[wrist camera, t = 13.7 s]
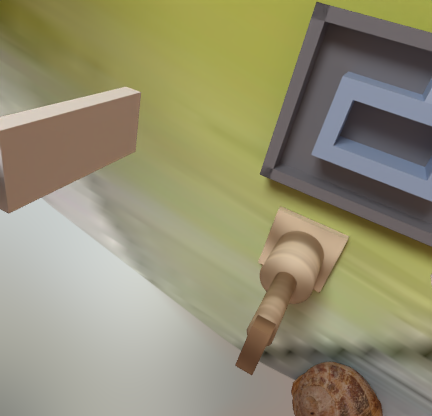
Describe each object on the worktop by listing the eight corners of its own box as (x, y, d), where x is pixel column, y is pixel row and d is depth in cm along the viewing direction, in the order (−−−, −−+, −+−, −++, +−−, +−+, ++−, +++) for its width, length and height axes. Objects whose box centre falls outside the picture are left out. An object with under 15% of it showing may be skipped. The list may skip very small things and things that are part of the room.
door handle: (280, 206, 36) (221, 289, 25) (348, 236, 34) (319, 341, 23) (260, 258, 40) (201, 352, 28) (321, 288, 38) (283, 400, 26)
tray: (323, 3, 28) (316, 1, 25) (577, 72, 23) (593, 76, 21) (268, 165, 35) (259, 174, 33) (452, 241, 30) (455, 256, 28)
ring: (318, 144, 31) (311, 154, 29) (357, 49, 27) (352, 52, 25) (433, 187, 29) (435, 203, 26) (494, 90, 25) (504, 97, 22)
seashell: (271, 354, 44) (295, 421, 34) (342, 328, 44) (385, 389, 34) (296, 419, 47) (324, 499, 37) (362, 395, 46) (408, 469, 37)
